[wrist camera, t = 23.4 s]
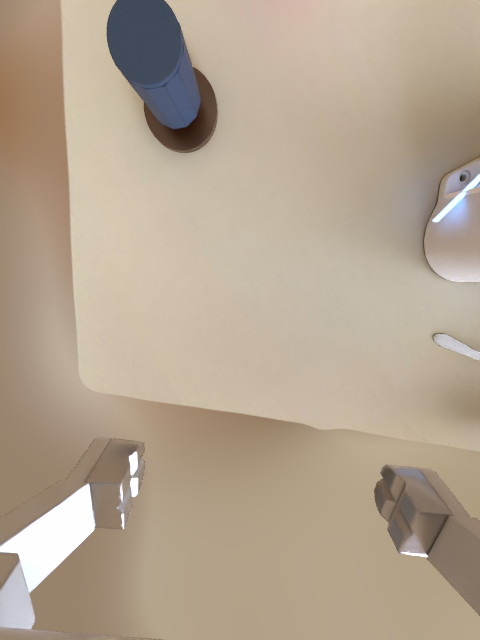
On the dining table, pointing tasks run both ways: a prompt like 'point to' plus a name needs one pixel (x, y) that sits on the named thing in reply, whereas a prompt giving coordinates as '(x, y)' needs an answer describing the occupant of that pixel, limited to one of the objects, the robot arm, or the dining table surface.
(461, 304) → the dining table surface
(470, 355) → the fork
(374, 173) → the dining table surface
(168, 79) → the blue cylinder
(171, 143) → the peg stand
